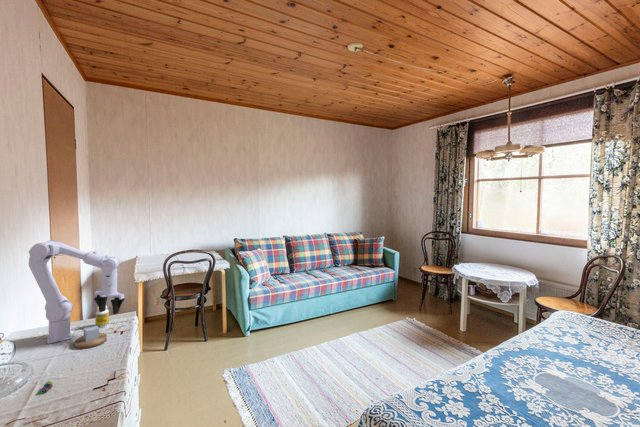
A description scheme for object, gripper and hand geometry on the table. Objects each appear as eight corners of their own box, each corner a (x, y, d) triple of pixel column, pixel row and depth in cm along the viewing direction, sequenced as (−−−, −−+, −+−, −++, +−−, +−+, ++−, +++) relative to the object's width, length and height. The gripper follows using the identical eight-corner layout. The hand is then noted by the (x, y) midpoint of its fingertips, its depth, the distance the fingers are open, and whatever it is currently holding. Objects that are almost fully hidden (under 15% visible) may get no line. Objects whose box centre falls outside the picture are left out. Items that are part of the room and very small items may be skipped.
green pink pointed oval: (42, 389, 97) (42, 382, 97) (52, 388, 98) (52, 381, 98) (33, 397, 93) (33, 390, 93) (44, 396, 94) (44, 388, 94)
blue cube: (83, 338, 128) (83, 328, 127) (95, 334, 131) (96, 325, 131) (86, 341, 125) (86, 331, 125) (98, 338, 128) (99, 328, 128)
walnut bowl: (73, 341, 128) (73, 337, 128) (104, 334, 136) (104, 330, 136) (75, 351, 120) (75, 347, 120) (108, 343, 128) (108, 339, 128)
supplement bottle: (109, 322, 149) (109, 304, 149) (108, 326, 144) (108, 307, 144) (95, 324, 146) (96, 305, 146) (94, 328, 142) (95, 309, 141)
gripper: (88, 284, 133) (88, 313, 134) (115, 287, 130) (114, 317, 131) (103, 280, 140) (102, 308, 141) (128, 283, 137) (127, 311, 138)
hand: (109, 312), depth 136 cm, fingers open, 7 cm apart
